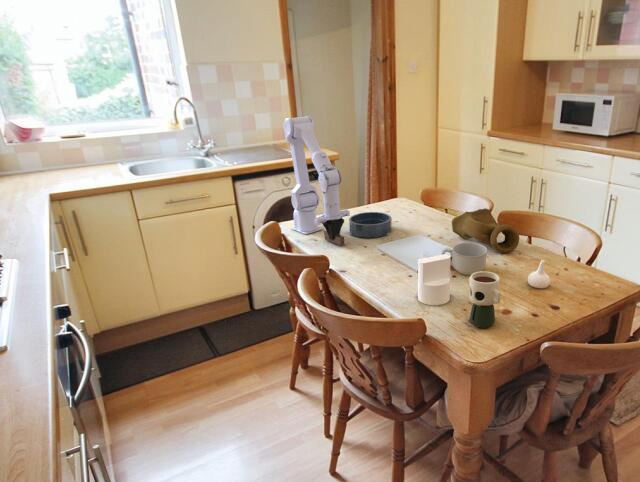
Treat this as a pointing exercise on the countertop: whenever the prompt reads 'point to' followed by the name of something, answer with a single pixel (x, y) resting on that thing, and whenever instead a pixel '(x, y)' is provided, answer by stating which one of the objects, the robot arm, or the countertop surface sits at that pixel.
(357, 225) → the bowl
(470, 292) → the character mug
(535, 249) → the countertop surface
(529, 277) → the garlic bulb
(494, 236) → the brown looped sculpture
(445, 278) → the cylinder with rectangular tab
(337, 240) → the brown rectangular block
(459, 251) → the teacup
